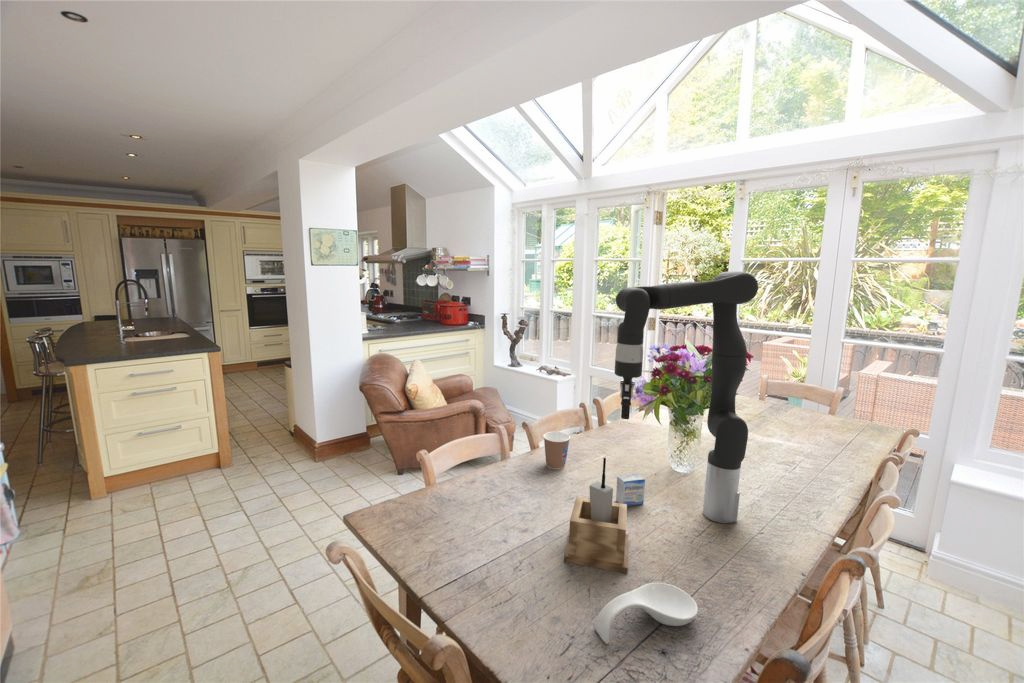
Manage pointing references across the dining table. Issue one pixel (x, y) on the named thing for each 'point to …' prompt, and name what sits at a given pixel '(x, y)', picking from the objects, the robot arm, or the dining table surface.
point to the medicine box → (630, 490)
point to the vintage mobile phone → (601, 499)
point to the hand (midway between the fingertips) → (625, 414)
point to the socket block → (598, 538)
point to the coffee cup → (556, 449)
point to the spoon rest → (649, 606)
